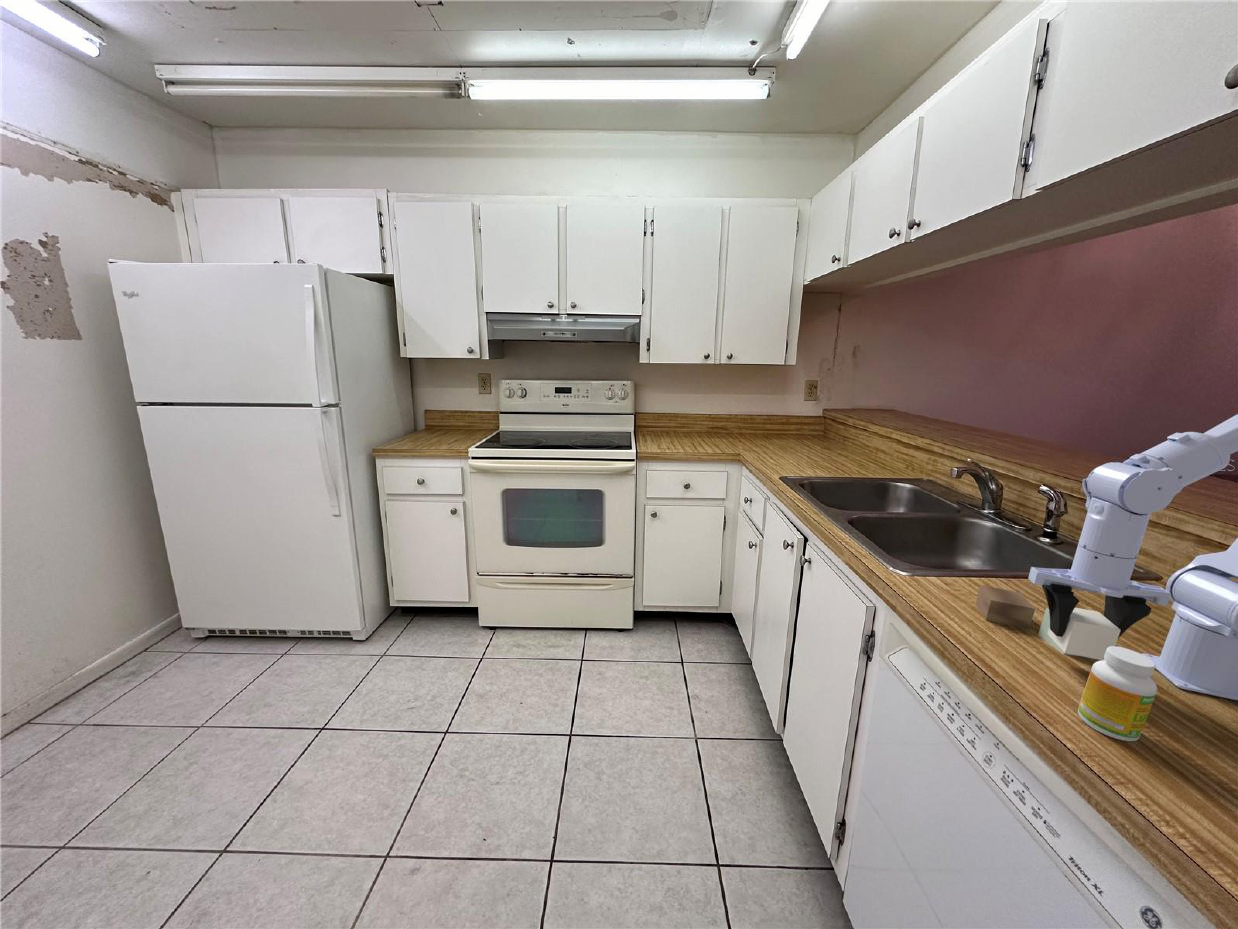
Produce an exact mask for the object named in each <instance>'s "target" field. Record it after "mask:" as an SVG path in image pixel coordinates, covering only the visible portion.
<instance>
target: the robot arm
mask: <svg viewBox="0 0 1238 929" xmlns="http://www.w3.org/2000/svg"><path fill="white" fill-rule="evenodd" d="M1166 438H1167V440H1166V441H1163V442H1161V443H1159V444H1157V445H1155V446H1153V447H1151V448H1149V449H1147V450H1145V451H1143V452H1141V453H1136V454H1134V455H1132V456H1130V457H1129V458H1128V459H1127V460H1124V461H1123V462H1118V461H1116V462H1106V463H1104V464H1102V465H1099V466H1097V467H1095V468H1094V469H1092V471H1091V472H1089V474H1088V476H1087V478H1083V479H1082V481H1081V482H1082V490H1083V491H1082V492H1084V495H1086V503H1085V508H1086V511H1087V512H1086V514H1085V515H1086V516H1085V519H1084V523H1083V525H1082V530H1081V534H1080V536H1079V540H1078V544H1077V548H1076V551H1075V554H1074V557H1073V561H1072V565H1071V568H1070V569H1069V568H1066V569H1065V568H1045V567H1035V566H1031V567H1030V570H1029V573H1028V574H1029V575H1028V579H1027V580H1030V582H1031V583H1032V584H1033V585H1035V586H1041V587H1042V590H1043V593H1044V595H1045V599H1046V603H1047V606H1048V607H1047V608H1049V614H1050V630H1051V631H1052V632H1053V633H1054V634H1055V635H1056V636H1059V637H1063V635H1064V633H1065V631H1066V628H1067V624H1068V620H1069V618H1070V615H1071V613H1072V612H1073V610H1074V608H1077V607H1076V606H1077V605H1078V604H1079V603H1080V599H1078V598H1077V596H1075V595H1074V594H1075V592H1074V591H1072V590H1077V591H1084V592H1088V593H1089V592H1090V593H1096V594H1102V595H1105V596H1104V598H1105V600H1104V602H1105V603H1104V611H1103V614H1102V615H1103V616H1104V617H1106V618H1107V619H1108V620H1109V621H1110V622H1112V623H1113V624H1114V625H1115V626H1116V627H1118V628H1119V629H1120V630H1121V631H1120V633H1119V636H1118V639H1117V641H1118V640H1119V639H1120V638H1121V636H1122V635H1123V634H1124V633H1125V632H1126V631H1127V630H1128V629H1129V628H1130V627H1131V626H1133V625H1135V623H1138V622H1139V621H1140V620H1142V619H1144V618H1147V617H1148V616H1150V614H1151V612H1152V607H1151V606H1149V605H1148V604H1146V603H1147V602H1150V603H1154V604H1156V605H1159V606H1162V607H1163V606H1164V607H1167V606H1168V603H1169V601H1172V602H1173V603H1172V605H1171V609H1172V610H1174V611H1175V613H1174V618H1173V620H1172V622H1171V626H1170V628H1169V631H1168V633H1167V636H1166V639H1165V642H1164V644H1163V647H1162V650H1161V652H1160V655H1153V654H1149V653H1141V654H1142V655H1144V656H1146V657H1148V658H1149V659H1151V660H1152V661H1153V662H1154V663H1155V669H1156V670H1157V671H1158V672H1159V673H1160V674H1161V675H1163V676H1164V677H1165V678H1166V679H1168V680H1169V681H1170V682H1171V683H1172V684H1173V685H1175V686H1176V687H1177V688H1178V689H1179V688H1180V689H1183V690H1188V691H1190V692H1191V691H1193V692H1197V693H1200V694H1204V695H1205V694H1206V695H1211V696H1214V697H1215V696H1216V697H1218V698H1219V697H1220V698H1223V699H1224V698H1225V699H1229V700H1233V701H1238V580H1237V581H1236V580H1234V579H1238V537H1237V538H1236V539H1235V540H1234V541H1233V542H1232V544H1231V545H1230V546H1229V547H1228V549H1226V550H1224V551H1220V552H1213V553H1206V554H1201V555H1197V556H1195V558H1194V559H1193V560H1192V561H1191V562H1190V563H1189V564H1188V565H1187V566H1186V565H1185V567H1184V566H1183V567H1182V568H1180V569H1179V570H1176V572H1174V573H1173V574H1172V575H1171V576H1170V577H1169V578H1168V581H1167V582H1166V586H1165V588H1163V587H1162V586H1158V585H1152V584H1147V583H1142V582H1138V581H1135V580H1134V581H1133V580H1131V577H1132V574H1133V571H1134V568H1135V564H1136V562H1137V558H1138V555H1139V553H1140V550H1141V546H1142V542H1143V540H1144V536H1145V534H1146V530H1147V527H1148V524H1149V521H1150V518H1151V515H1152V514H1153V513H1155V512H1159V511H1160V512H1161V511H1163V510H1164V509H1165V508H1166V507H1168V505H1170V503H1171V502H1172V501H1173V499H1174V497H1175V496H1176V495H1178V494H1179V493H1181V491H1182V490H1183V488H1184V487H1186V486H1189V485H1191V484H1193V483H1195V482H1198V481H1199V480H1201V479H1204V478H1206V477H1208V476H1210V475H1212V474H1215V473H1216V472H1219V471H1221V470H1223V469H1226V468H1227V466H1228V465H1229V463H1230V459H1231V454H1234V453H1237V452H1238V413H1237V414H1235V415H1234V416H1232V417H1230V418H1228V419H1227V420H1224V421H1223V422H1220V424H1217V425H1216V426H1214V427H1212V428H1211V429H1208V430H1207V431H1204V433H1201V432H1196V431H1185V432H1175V433H1173V434H1170V435H1169V436H1167V437H1166ZM1232 578H1234V579H1232Z"/></svg>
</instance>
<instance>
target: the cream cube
mask: <svg viewBox="0 0 1238 929" xmlns="http://www.w3.org/2000/svg"><path fill="white" fill-rule="evenodd" d="M1103 615H1104V614H1102V613H1101V612H1099V611H1097V610H1091V609H1085V608H1080V607H1075V608H1074V610H1073V612H1072V613H1071V615H1070V618H1069V620H1068V624H1067V628H1066V631H1065V633H1064V635H1063V637H1059V636H1056V635H1055V634H1054V633H1053V632H1052V631H1051V630H1050V627H1049V630H1048V633H1047V634H1048V635H1049V636H1050V637H1051V638H1052V639H1053V640H1054V642H1055V643H1056V644H1057V645H1058V646H1059V647H1060V648H1061V649H1062V650H1063V651H1064V652H1065V653H1069V654H1074V655H1073V656H1076V655H1078V656H1079V657H1083V658H1089V659H1094V660H1098V661H1102V660H1105V659H1104V655H1105V652H1106V650H1107V648H1108V647H1110V646H1116V645H1117V642H1118V640H1119V638H1118V636H1119V633H1120V631H1121V630H1120V629H1119V628H1118V627H1116V626H1115V625H1114V624H1113V623H1112V622H1110V621H1109V620H1108V619H1107V618H1106V617H1104V616H1103ZM1117 639H1118V640H1117ZM1078 656H1077V657H1078Z"/></svg>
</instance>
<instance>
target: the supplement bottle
mask: <svg viewBox="0 0 1238 929" xmlns="http://www.w3.org/2000/svg"><path fill="white" fill-rule="evenodd" d="M1104 659H1105V660H1098V661H1096V662H1094V663H1093V664H1092V666H1091V669H1090V672H1089V675H1088V678H1087V681H1086V683H1085V684H1086V685H1085V687H1084V690H1083V693H1082V696H1081V699H1080V702H1079V704H1078V705H1079V706H1078V709H1077V714H1078V716H1079V717H1080V719H1081V720H1082V721H1083V722H1084V723H1086V724H1087V726H1089V727H1091V728H1092V729H1094V730H1095V731H1098V732H1099V733H1101V734H1103V735H1105V736H1108V737H1110V738H1113V739H1116V740H1119V741H1122V742H1123V741H1124V742H1136V741H1138V740H1139V739H1140V737H1141V735H1142V732H1143V730H1144V726H1145V725H1146V722H1147V719H1148V717H1149V713H1150V711H1151V709H1152V705H1153V702H1154V700H1155V699H1156V698H1155V697H1156V695H1157V692H1158V687H1157V684H1156V682H1155V681H1154V679H1153V678H1151V677H1153V675H1154V672H1155V669H1156V668H1155V663H1154V662H1153V661H1152V660H1151V659H1149V658H1148V657H1146V656H1144V655H1142V653H1140V652H1138V651H1136V650H1135V651H1134V650H1132V649H1129V648H1126V647H1122V646H1116V645H1115V646H1110V647H1108V648H1107V650H1106V652H1105V655H1104Z"/></svg>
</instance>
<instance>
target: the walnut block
mask: <svg viewBox="0 0 1238 929" xmlns="http://www.w3.org/2000/svg"><path fill="white" fill-rule="evenodd" d="M975 605H976V607H977V608H978V610H979V612H980V613H981V615H982V616H983V619H985V621H988V622H993V623H997V624H1002V623H1003V624H1002V625H1008V626H1012V627H1016V628H1021V629H1027V630H1030V628H1031V625H1032V621H1033V617H1034V614H1035V611H1036V608H1035V607H1034V606H1033V604H1032V603H1031V602H1030V601H1029V600H1028V599H1027V598H1026V597H1025V595H1024V594H1023V593H1022V592H1018V591H1013V590H1010V589H1009V590H1008V589H1004V588H999V587H993V586H987V585H982V584H980V585H979V590H978V592H977V596H976V600H975Z"/></svg>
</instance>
